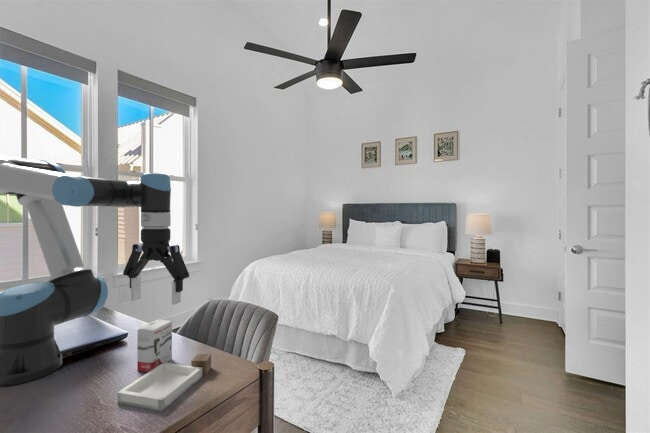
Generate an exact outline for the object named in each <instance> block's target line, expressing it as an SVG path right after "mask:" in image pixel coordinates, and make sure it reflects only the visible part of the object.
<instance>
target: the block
mask: <svg viewBox="0 0 650 433" xmlns="http://www.w3.org/2000/svg"><path fill="white" fill-rule="evenodd" d="M190 364H191V365H190V366H195V367H202V376H207V375H208V373H209V372H210V370H211V369H212V354H210V353H208V354H205V353H204V354H203V353H197V354H196V355H195V356H194V357H193V358H192V360H191V363H190Z"/></svg>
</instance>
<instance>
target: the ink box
mask: <svg viewBox="0 0 650 433" xmlns="http://www.w3.org/2000/svg"><path fill="white" fill-rule="evenodd" d="M136 349H137V359H136V360H137V363H136V364H137V371H139V372H145V373H148V372H150V371H151V370H153V369H154V368H156V367H158V366H159V365H161V364H162V363H164V362H166V363H169V361H172V360H173V321H172V320H164V319H156V320H154V321H152V322H149V323H147V324H145V325H142V326H141V327H139V328H138V329H137V348H136Z"/></svg>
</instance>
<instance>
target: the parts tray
mask: <svg viewBox="0 0 650 433" xmlns="http://www.w3.org/2000/svg"><path fill="white" fill-rule="evenodd" d="M202 377H203V375H202V367H195V366H191V365H187V364H179V363H173V362H172V363H171V362H167V363H166V362H164V363H162V364H161V365H159V366H158V367H156V368H154V369H153V370H151V371H150V372H146V373H145V374H143V375H142V376H140V377H139V378H137V379H135V381H133V382H131V383H130V384H128V385H127V386H125V387H123V388H122V389H121V390H119V391H118V392H117V393H116V396H117V398H116V400H117V404H121V405H125V406H126V405H127V406H132V407H137V408H143V409H148V410H154V411H159V412H162V411H164V410H165V409H167V407H169V406H170V405H171V404H172V403H173V402H175V401H176V399H178V398H179V397H180V396H182V395H183V394H184V393H185V392H186V391H187V390H189V389H190V388H191V387H192V386H194V385H195V384H196V383H197V382H198V381H200V379H201V378H202Z"/></svg>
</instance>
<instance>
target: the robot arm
mask: <svg viewBox="0 0 650 433" xmlns="http://www.w3.org/2000/svg"><path fill="white" fill-rule="evenodd" d="M170 178H171V177H170V175H168V174H166V173H165V174H164V173H156V172H154V173H153V172H144V173H141V175H140V179H139V180H137V181H136V180H131V181H130V180H119V179H118V180H117V179H112V178H111V179H109V178H99V177H93V176H92V177H90V176H83V175H77V174H71V173H67V172H66V171H65V169H64V168H63V167H62V166H60V165H59V164H57V163H55V162H50V161H47V160H41V159H37V160H36V159H30V158H23V157H15V156H7V155H1V154H0V195H12V196H13V195H15V196H16V200H17V201H18V204H19V205H21V206H23V207H26V209H27V212H28V214H29V217H30V220H31V223H32V226H33V229H34V232H35V235H36V238H37V240H38V243H39V246H40V250H41V252H42V255H43V257H44V258H43V259H44V261H45V264H46V266H47V269H48V273H49V279H48V280H47V281H38V282H37V281H36V282H33V283H25V284H21V285H17V286H13V287H11V288H8V289H6V290H4V291H1V293H0V387H8V385H9V386H16V385H19V384H23V383H29V382H32V381H35V380H38V379H41V378H43V377H46V376H47V375H49V374H52V373H53V372H56V370H58V369H59V368H61V367H62V365H63V354H62V352H61V350H60V348H59V345H58V344H57V341H56V339H55V326H58V325H60V324H64V323H67V322H70V321H72V320H73V321H74V320H75V319H79V318H84V317H87V316H90V315H91V314H93V313H96V312H98V311H100V310H101V309H102V308H103V307H104V306H105V304H106V301H107V300H108V296H109V289H108V285H107V281H105V279H103V278H102V277H101V276H96V275H94V273H93V270H92V268H89V267H86V266H85V265H84V263H83V260H82V259H83V258H82V256H81V253H80V251H79V247H78V244H77V243H76V240H75V237H74V234H73V230H72V229H71V226H70V223H69V220H68V217H67V215H66V212H65V211H66V210H65V208H64V206H66V207H67V206H68V207H76V208H77V207H79V208H80V207H109V208H110V207H112V208H113V207H115V208H126V207H127V208H138V207H140V227H142V228H141V230H140V242H142V243H133V244H132V249H131V253H130V255H129V258H128V260H127V262H126V265H125V268H124V269H123V272H122V274H123V276H127V277H128V278H129V288H130V290H131V291H130V292H131V293H130V295H131V296H130V302H134V301H137V300H141V298H142V293H141V292H142V287H141V286H142V277H141V276H140V274H141V272H142V271H143V270H144V268H145V267H146V266H147V265H148V263H149V262H150V261H156V262H158V261H159V262H160V263H162V264H163V266H165V269H167V271H168V273H169V274H170V276H171V277H172V279H173V280H172V281H171V305H177V304H180V303H181V302H182V300H181V299H182V297H181V296H182V294H181V293H182V292H183V288H184V284H183V283H184V280H185V279H188V278H190V273H189V271H188V268H187V266H186V263H185V261H184V259H183V256H182V254H181V250H180V245H178V244H174V245H170V242H171V229H170V227H171V222H172V221H171V220H172V219H171V218H172V217H171V216H172V215H171V195H172V194H171V193H172V192H171V191H172V187H171V179H170ZM5 385H7V386H5Z"/></svg>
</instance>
